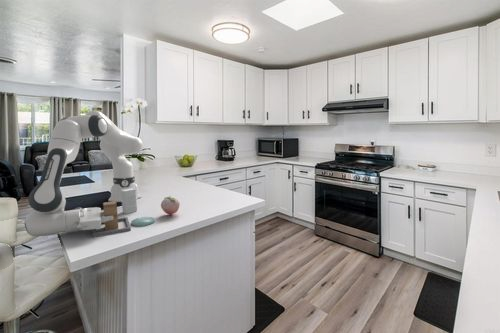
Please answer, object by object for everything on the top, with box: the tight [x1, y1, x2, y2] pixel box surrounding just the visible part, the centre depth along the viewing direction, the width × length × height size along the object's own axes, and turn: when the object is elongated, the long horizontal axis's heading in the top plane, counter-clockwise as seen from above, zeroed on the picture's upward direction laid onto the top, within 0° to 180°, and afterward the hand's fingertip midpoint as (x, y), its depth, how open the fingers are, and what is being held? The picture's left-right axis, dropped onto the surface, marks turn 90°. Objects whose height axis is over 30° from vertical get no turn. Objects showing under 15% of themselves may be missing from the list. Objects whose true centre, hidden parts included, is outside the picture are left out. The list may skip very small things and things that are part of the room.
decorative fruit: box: [160, 196, 181, 216], centre depth 133 cm, size 9×8×10 cm
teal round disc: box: [130, 216, 156, 227], centre depth 123 cm, size 10×10×1 cm
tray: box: [92, 216, 132, 238], centre depth 116 cm, size 16×14×1 cm
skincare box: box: [121, 188, 138, 214], centre depth 138 cm, size 6×4×12 cm
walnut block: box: [102, 201, 119, 231], centre depth 116 cm, size 5×5×11 cm
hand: (113, 215), depth 116 cm, fingers closed on walnut block, 5 cm apart
